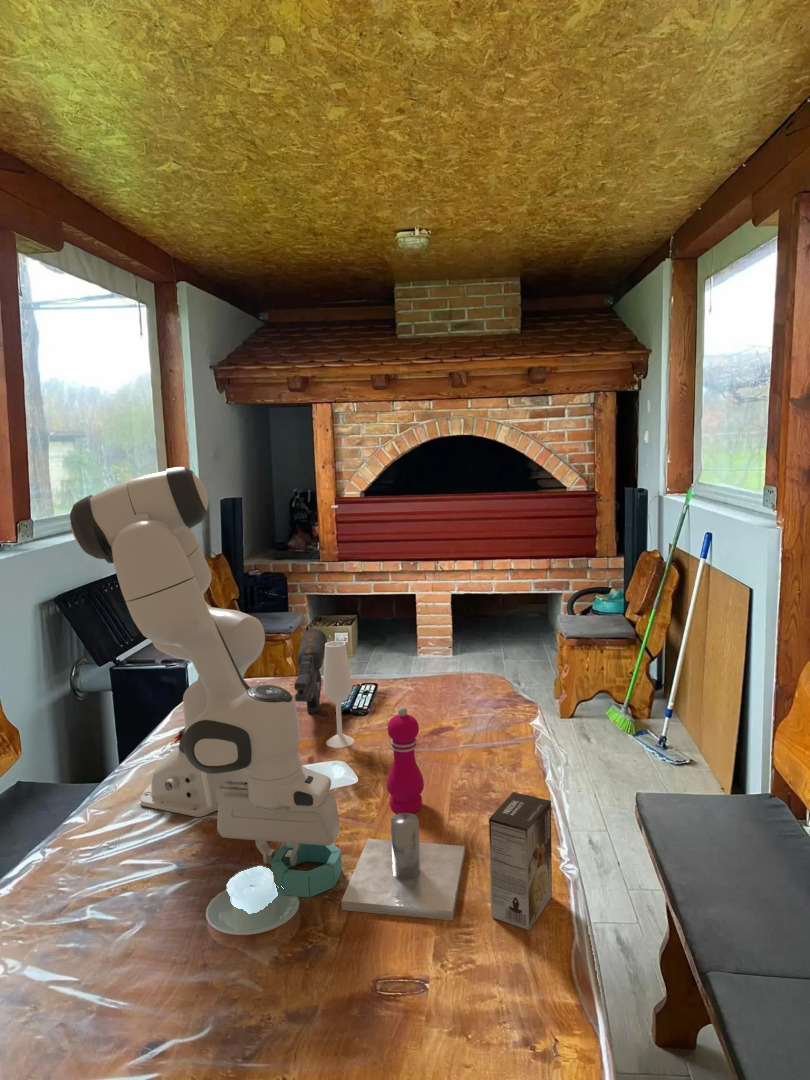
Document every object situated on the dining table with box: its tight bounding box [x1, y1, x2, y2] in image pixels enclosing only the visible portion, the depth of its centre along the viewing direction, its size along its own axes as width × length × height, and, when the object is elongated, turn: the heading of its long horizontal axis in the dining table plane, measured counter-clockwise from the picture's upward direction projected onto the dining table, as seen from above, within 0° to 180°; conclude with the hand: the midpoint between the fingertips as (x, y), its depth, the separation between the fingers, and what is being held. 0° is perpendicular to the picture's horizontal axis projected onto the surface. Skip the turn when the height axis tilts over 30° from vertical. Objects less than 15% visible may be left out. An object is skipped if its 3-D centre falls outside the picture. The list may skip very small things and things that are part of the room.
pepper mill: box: [386, 707, 425, 814], centre depth 136 cm, size 7×7×20 cm
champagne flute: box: [322, 640, 355, 749], centre depth 166 cm, size 7×7×24 cm
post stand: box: [340, 813, 466, 921], centre depth 114 cm, size 17×17×10 cm
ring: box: [270, 842, 343, 898], centre depth 117 cm, size 11×11×4 cm
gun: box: [294, 628, 328, 714], centre depth 184 cm, size 7×28×20 cm, turn 179°
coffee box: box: [488, 791, 553, 931], centre depth 106 cm, size 9×6×16 cm
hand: (280, 862), depth 117 cm, fingers closed
